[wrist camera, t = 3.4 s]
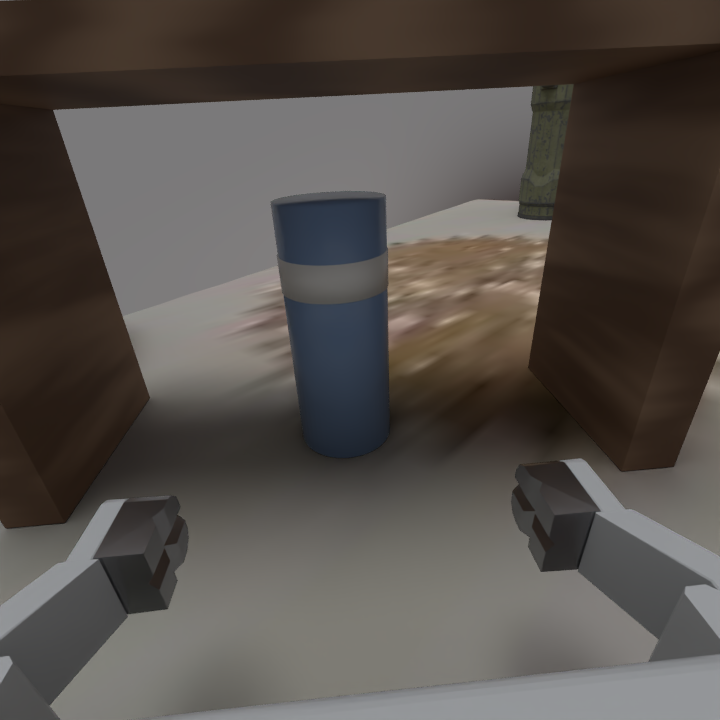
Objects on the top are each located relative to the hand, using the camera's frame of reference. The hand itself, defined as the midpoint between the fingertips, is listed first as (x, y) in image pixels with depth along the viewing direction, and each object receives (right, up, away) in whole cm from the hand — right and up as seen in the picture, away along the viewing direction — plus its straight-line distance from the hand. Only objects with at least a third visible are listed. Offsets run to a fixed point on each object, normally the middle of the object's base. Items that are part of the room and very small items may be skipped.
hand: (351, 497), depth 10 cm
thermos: (+34, +30, +67) cm, 81 cm away
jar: (-1, -1, +13) cm, 13 cm away
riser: (-1, 0, +13) cm, 13 cm away
